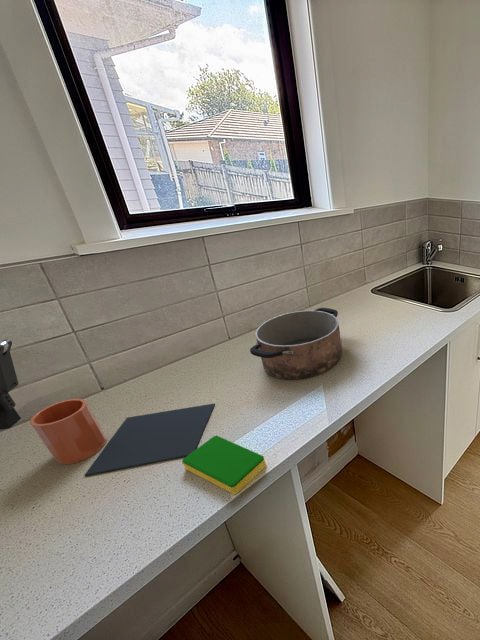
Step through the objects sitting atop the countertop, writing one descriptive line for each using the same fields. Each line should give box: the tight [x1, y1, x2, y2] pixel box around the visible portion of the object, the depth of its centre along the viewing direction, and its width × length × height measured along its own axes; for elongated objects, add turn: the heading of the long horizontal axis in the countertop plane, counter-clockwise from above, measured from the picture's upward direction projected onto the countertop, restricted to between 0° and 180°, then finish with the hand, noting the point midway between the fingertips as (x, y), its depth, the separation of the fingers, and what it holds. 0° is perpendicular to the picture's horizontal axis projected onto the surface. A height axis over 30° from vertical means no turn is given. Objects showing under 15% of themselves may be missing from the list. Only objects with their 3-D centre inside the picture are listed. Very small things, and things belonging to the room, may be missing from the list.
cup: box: [29, 398, 107, 466], centre depth 66 cm, size 8×8×10 cm
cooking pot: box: [249, 307, 343, 381], centre depth 98 cm, size 30×22×11 cm
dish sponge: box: [181, 435, 267, 495], centre depth 64 cm, size 7×14×2 cm, turn 66°
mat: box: [84, 403, 216, 477], centre depth 72 cm, size 18×16×1 cm
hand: (10, 424), depth 63 cm, fingers closed
